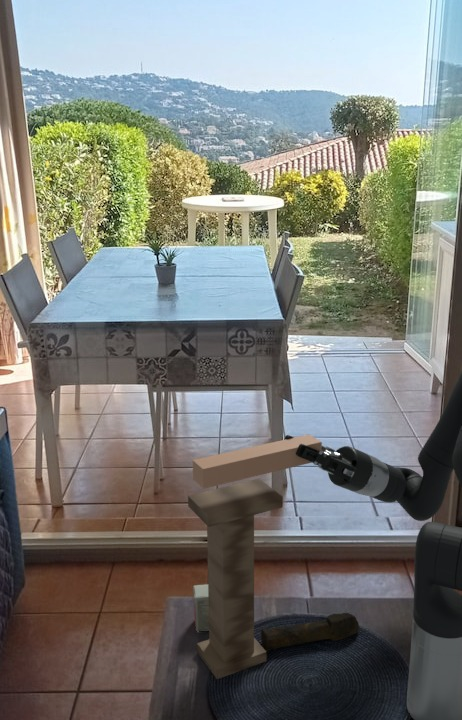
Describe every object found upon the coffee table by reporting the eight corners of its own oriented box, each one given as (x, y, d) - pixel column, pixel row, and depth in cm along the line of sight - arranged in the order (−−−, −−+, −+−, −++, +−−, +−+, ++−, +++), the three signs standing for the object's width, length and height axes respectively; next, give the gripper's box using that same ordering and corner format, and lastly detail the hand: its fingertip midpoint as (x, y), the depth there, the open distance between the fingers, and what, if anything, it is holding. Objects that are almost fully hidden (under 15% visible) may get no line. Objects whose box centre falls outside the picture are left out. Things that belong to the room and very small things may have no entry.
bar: (308, 452, 132) (309, 434, 131) (321, 460, 129) (321, 441, 128) (193, 479, 122) (192, 460, 121) (203, 488, 119) (202, 469, 118)
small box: (219, 617, 144) (219, 582, 142) (221, 631, 140) (221, 595, 138) (194, 619, 144) (193, 584, 141) (195, 633, 140) (194, 597, 137)
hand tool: (264, 657, 133) (265, 635, 132) (259, 642, 137) (259, 621, 136) (363, 643, 137) (364, 622, 136) (355, 629, 141) (356, 608, 139)
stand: (258, 631, 140) (259, 478, 131) (280, 655, 133) (282, 496, 124) (192, 654, 134) (187, 495, 125) (211, 681, 127) (208, 515, 118)
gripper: (344, 441, 142) (279, 412, 133) (392, 468, 130) (324, 439, 121) (327, 475, 143) (261, 449, 134) (373, 506, 130) (304, 479, 121)
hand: (292, 445), depth 127 cm, fingers closed on bar, 4 cm apart
